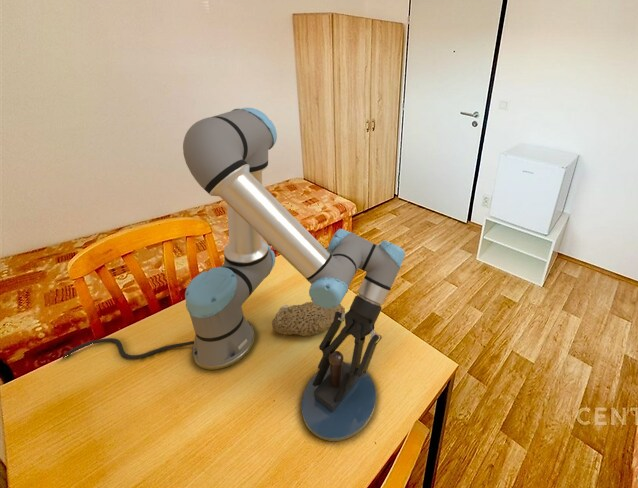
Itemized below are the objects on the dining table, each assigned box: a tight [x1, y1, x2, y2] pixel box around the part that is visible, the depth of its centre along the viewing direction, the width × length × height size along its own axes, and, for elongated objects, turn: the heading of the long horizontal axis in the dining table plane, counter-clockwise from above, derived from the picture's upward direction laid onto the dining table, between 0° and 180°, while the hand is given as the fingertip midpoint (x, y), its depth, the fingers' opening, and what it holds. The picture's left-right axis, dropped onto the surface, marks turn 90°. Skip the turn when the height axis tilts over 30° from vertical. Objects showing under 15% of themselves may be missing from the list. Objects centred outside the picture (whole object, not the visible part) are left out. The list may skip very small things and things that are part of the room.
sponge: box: [271, 301, 346, 337], centre depth 97 cm, size 13×8×20 cm
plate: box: [301, 362, 377, 442], centre depth 79 cm, size 18×18×1 cm
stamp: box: [314, 350, 359, 412], centre depth 77 cm, size 10×6×13 cm, turn 148°
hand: (326, 392), depth 76 cm, fingers closed on stamp, 6 cm apart
